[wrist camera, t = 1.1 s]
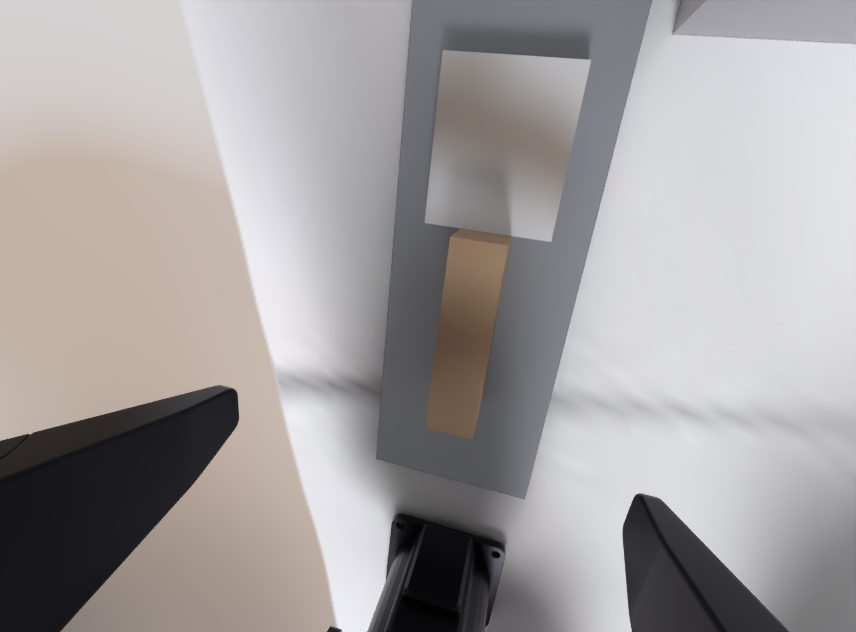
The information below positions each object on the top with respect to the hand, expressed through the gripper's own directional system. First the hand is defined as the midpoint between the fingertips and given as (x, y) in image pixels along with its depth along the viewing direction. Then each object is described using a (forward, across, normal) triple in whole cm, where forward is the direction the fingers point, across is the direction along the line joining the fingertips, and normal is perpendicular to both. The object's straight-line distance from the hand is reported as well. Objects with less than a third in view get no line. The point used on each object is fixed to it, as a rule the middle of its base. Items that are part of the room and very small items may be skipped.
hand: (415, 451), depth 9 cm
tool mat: (+10, 0, -2) cm, 11 cm away
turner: (+10, 0, -2) cm, 10 cm away
